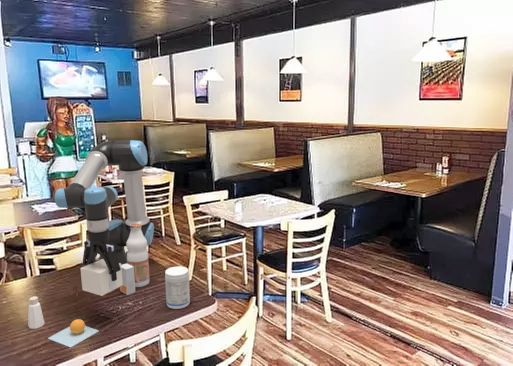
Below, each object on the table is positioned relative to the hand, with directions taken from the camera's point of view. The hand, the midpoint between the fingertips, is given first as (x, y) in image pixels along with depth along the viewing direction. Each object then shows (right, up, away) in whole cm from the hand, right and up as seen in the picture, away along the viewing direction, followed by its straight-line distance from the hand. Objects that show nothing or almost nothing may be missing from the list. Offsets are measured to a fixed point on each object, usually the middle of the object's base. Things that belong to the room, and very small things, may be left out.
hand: (102, 285), depth 161 cm
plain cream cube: (0, -1, 0) cm, 1 cm away
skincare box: (+2, -9, +24) cm, 26 cm away
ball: (-6, -12, -9) cm, 17 cm away
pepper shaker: (-23, -14, -3) cm, 28 cm away
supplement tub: (+26, -11, +13) cm, 31 cm away
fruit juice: (+5, -7, +33) cm, 34 cm away
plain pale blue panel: (-7, -15, -10) cm, 19 cm away
